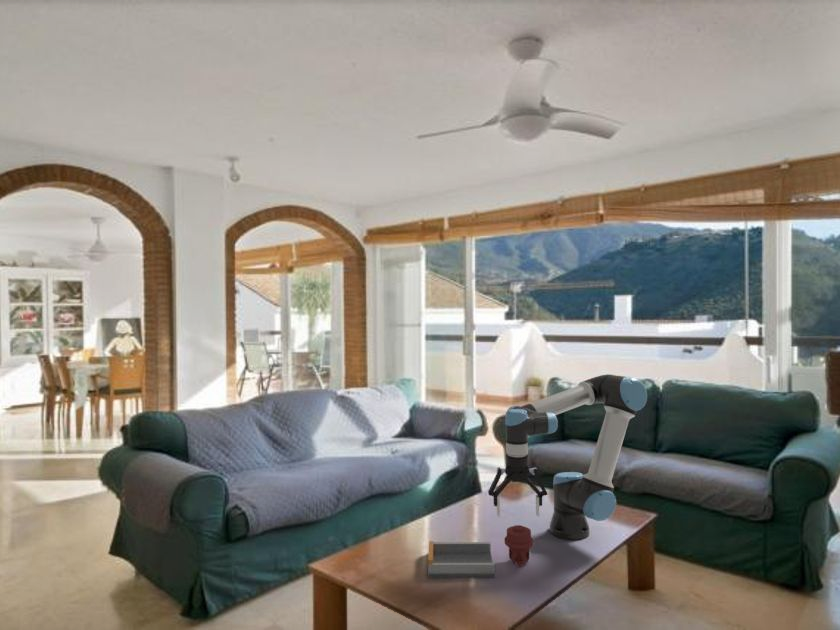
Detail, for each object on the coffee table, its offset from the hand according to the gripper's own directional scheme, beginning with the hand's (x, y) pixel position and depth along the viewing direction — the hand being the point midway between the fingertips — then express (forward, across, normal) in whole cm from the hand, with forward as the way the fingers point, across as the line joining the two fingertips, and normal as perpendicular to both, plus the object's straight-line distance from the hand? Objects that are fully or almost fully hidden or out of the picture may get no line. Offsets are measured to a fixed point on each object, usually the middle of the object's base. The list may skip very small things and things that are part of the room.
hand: (517, 515), depth 198 cm
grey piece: (+17, +20, +2) cm, 26 cm away
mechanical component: (+17, 0, 0) cm, 17 cm away
